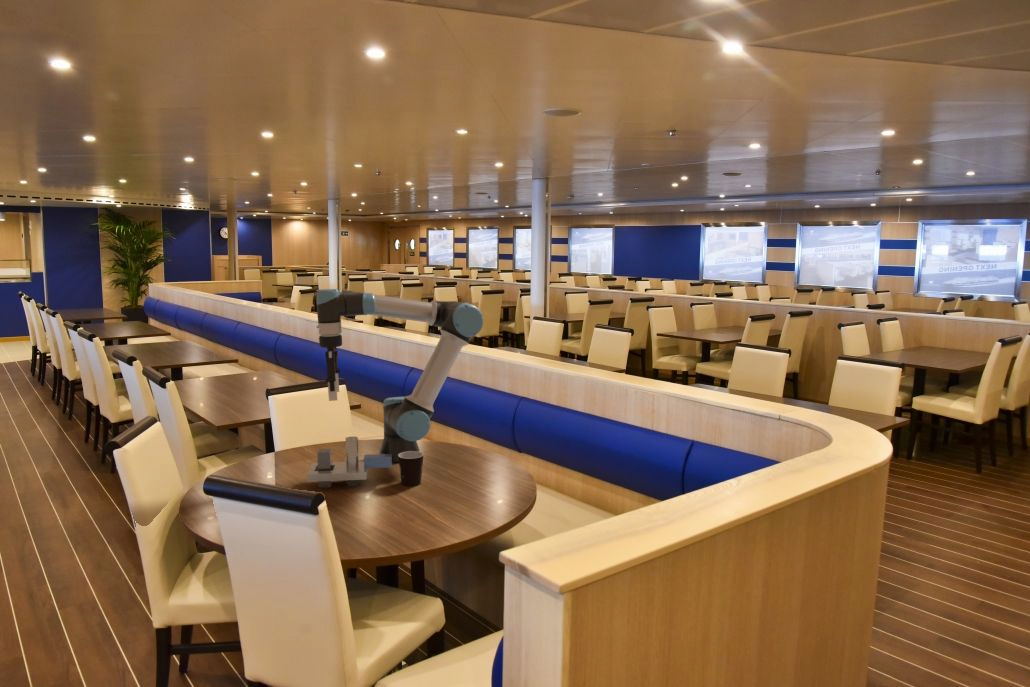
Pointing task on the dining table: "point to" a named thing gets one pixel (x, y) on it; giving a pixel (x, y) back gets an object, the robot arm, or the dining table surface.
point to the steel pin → (324, 465)
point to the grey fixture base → (350, 466)
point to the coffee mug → (411, 467)
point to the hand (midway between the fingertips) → (334, 396)
